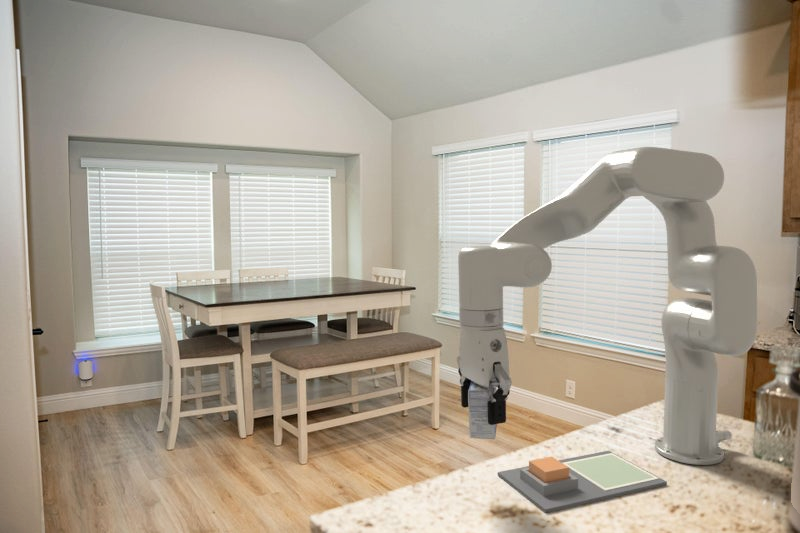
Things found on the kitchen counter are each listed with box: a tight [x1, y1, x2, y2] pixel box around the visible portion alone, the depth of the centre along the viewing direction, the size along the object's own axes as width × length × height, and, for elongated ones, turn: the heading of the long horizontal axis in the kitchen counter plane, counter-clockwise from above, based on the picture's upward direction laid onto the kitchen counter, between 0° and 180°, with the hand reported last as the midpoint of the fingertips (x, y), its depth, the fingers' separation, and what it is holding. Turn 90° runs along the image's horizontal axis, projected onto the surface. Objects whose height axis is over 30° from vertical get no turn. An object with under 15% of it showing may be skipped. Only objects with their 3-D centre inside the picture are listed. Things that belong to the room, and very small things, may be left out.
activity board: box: [497, 450, 668, 514], centre depth 108 cm, size 26×15×2 cm, turn 111°
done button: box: [528, 456, 569, 483], centre depth 105 cm, size 5×5×2 cm
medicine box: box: [467, 381, 498, 440], centre depth 103 cm, size 8×4×9 cm, turn 168°
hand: (482, 414), depth 103 cm, fingers closed on medicine box, 9 cm apart
